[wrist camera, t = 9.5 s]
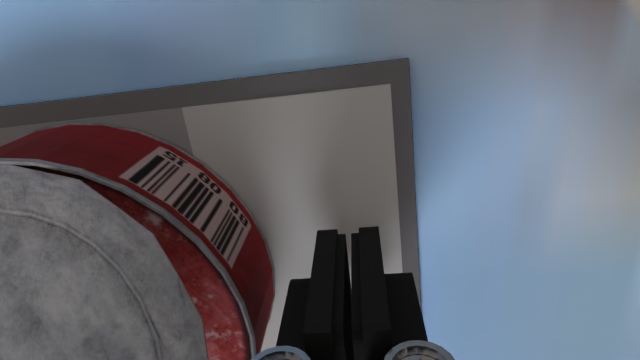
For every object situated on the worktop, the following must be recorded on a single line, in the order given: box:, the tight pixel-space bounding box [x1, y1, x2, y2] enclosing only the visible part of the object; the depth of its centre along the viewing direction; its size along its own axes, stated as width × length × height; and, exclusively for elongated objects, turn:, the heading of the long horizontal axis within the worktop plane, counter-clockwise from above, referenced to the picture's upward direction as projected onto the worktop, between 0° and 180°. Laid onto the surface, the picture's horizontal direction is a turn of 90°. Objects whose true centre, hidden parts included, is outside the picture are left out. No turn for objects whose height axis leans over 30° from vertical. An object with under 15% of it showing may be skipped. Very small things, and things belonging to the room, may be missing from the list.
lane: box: [0, 58, 421, 352], centre depth 14 cm, size 23×12×1 cm, turn 97°
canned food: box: [0, 123, 275, 360], centre depth 11 cm, size 11×10×10 cm
